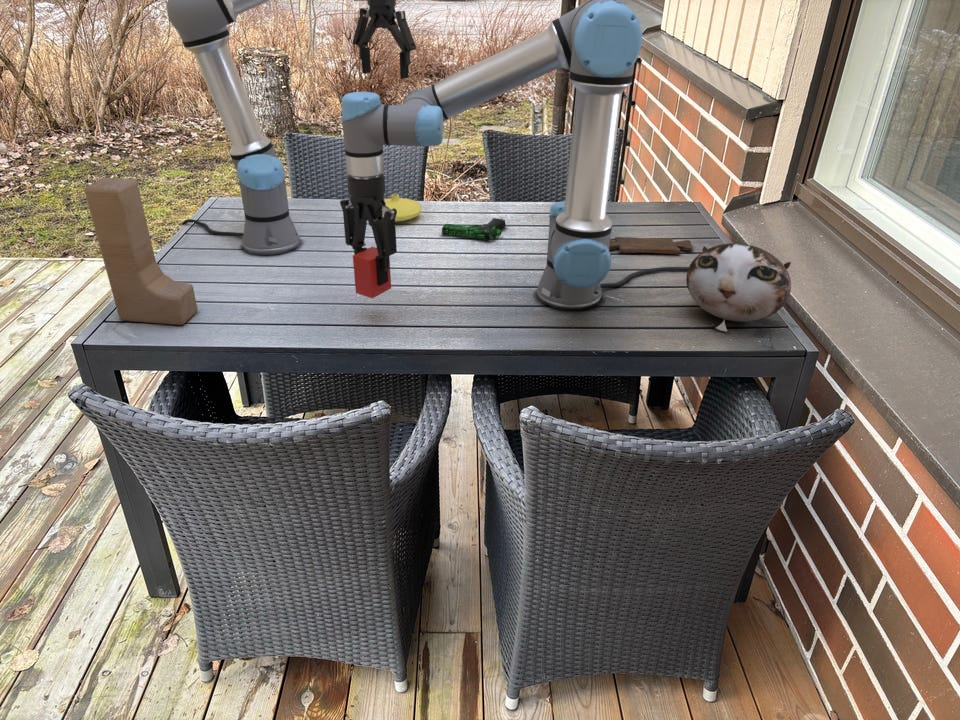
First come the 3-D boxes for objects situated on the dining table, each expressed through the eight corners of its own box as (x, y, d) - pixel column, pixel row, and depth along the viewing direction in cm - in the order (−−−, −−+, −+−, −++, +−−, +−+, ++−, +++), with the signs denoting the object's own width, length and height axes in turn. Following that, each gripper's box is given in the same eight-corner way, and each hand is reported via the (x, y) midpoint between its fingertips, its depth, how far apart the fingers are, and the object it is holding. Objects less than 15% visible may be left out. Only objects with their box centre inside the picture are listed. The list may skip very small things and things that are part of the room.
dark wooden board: (696, 256, 194) (688, 243, 203) (697, 250, 194) (689, 237, 202) (601, 253, 195) (597, 240, 203) (602, 247, 194) (598, 234, 202)
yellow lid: (393, 205, 227) (392, 183, 223) (432, 216, 219) (432, 193, 215) (359, 219, 216) (357, 196, 212) (398, 230, 208) (397, 207, 204)
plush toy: (664, 307, 155) (693, 222, 157) (679, 329, 171) (705, 252, 172) (770, 332, 145) (800, 241, 146) (775, 353, 160) (802, 271, 162)
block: (391, 288, 158) (389, 251, 154) (372, 298, 154) (369, 260, 149) (374, 283, 160) (372, 246, 156) (355, 293, 156) (352, 255, 151)
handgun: (511, 219, 210) (493, 234, 198) (511, 228, 211) (492, 244, 199) (461, 212, 215) (440, 226, 203) (461, 221, 217) (440, 236, 204)
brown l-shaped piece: (183, 326, 156) (152, 191, 140) (118, 321, 157) (81, 187, 142) (199, 311, 162) (172, 180, 147) (137, 306, 164) (103, 176, 148)
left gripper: (427, -10, 183) (429, 78, 194) (354, -14, 195) (360, 69, 206) (409, -8, 178) (412, 82, 188) (335, -13, 189) (342, 72, 200)
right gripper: (412, 177, 142) (416, 284, 154) (345, 163, 151) (354, 265, 163) (387, 186, 137) (394, 296, 149) (320, 171, 145) (331, 276, 157)
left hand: (385, 75), depth 197 cm, fingers open, 13 cm apart
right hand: (373, 280), depth 156 cm, fingers closed on block, 5 cm apart
